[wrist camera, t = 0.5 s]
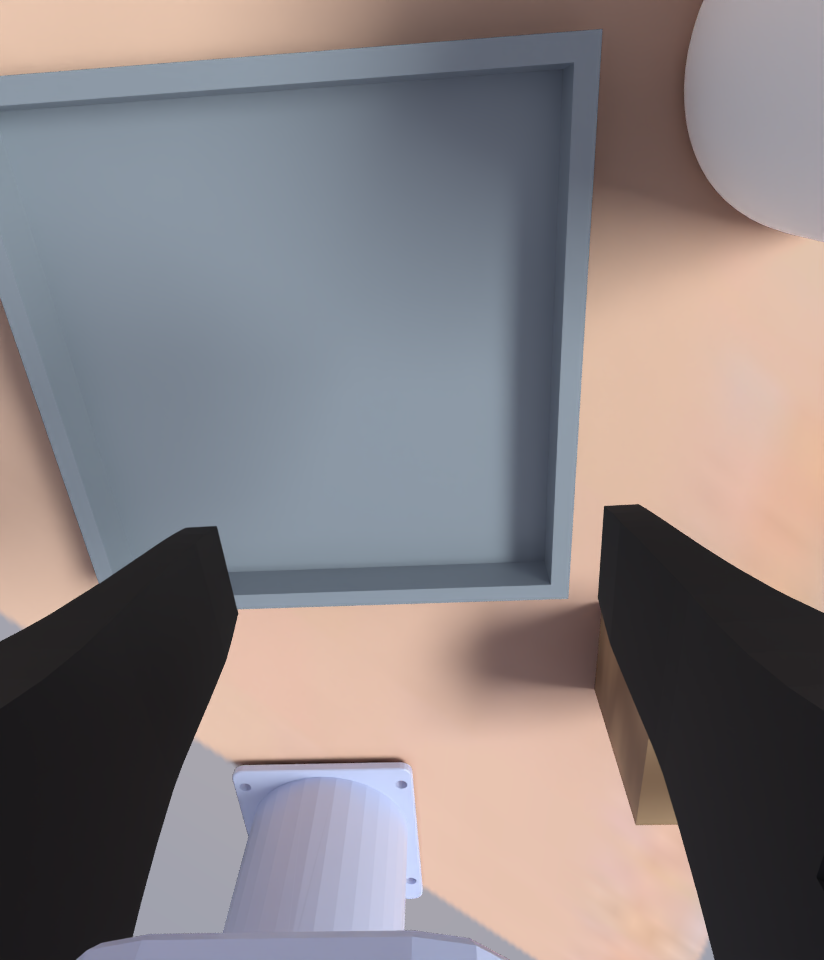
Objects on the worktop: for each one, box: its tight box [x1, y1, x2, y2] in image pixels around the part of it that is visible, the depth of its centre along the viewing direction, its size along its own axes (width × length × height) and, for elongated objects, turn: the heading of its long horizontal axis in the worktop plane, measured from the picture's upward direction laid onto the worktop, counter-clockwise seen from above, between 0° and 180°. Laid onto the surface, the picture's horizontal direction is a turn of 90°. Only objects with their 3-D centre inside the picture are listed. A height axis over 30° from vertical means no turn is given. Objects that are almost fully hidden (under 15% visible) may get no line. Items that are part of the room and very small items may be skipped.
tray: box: [0, 29, 602, 609], centre depth 19 cm, size 16×16×2 cm
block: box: [595, 612, 678, 825], centre depth 23 cm, size 4×4×6 cm
